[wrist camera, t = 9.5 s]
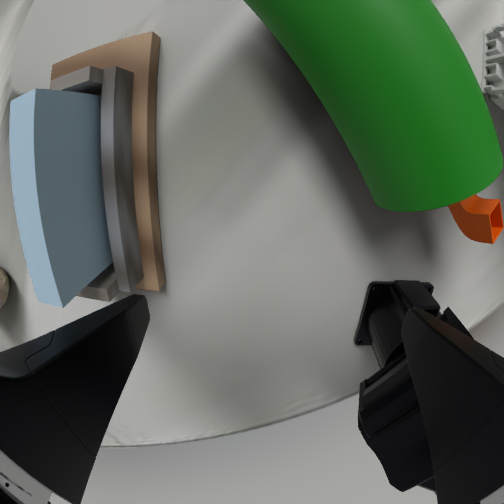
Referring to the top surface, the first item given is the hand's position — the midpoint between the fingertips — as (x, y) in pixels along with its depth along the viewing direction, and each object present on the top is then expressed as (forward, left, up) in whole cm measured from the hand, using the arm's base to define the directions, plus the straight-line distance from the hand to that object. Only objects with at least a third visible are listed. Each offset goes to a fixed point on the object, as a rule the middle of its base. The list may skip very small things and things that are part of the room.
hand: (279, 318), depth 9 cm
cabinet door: (+3, +13, -10) cm, 17 cm away
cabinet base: (+4, +14, -12) cm, 19 cm away
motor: (+18, -1, -8) cm, 20 cm away
